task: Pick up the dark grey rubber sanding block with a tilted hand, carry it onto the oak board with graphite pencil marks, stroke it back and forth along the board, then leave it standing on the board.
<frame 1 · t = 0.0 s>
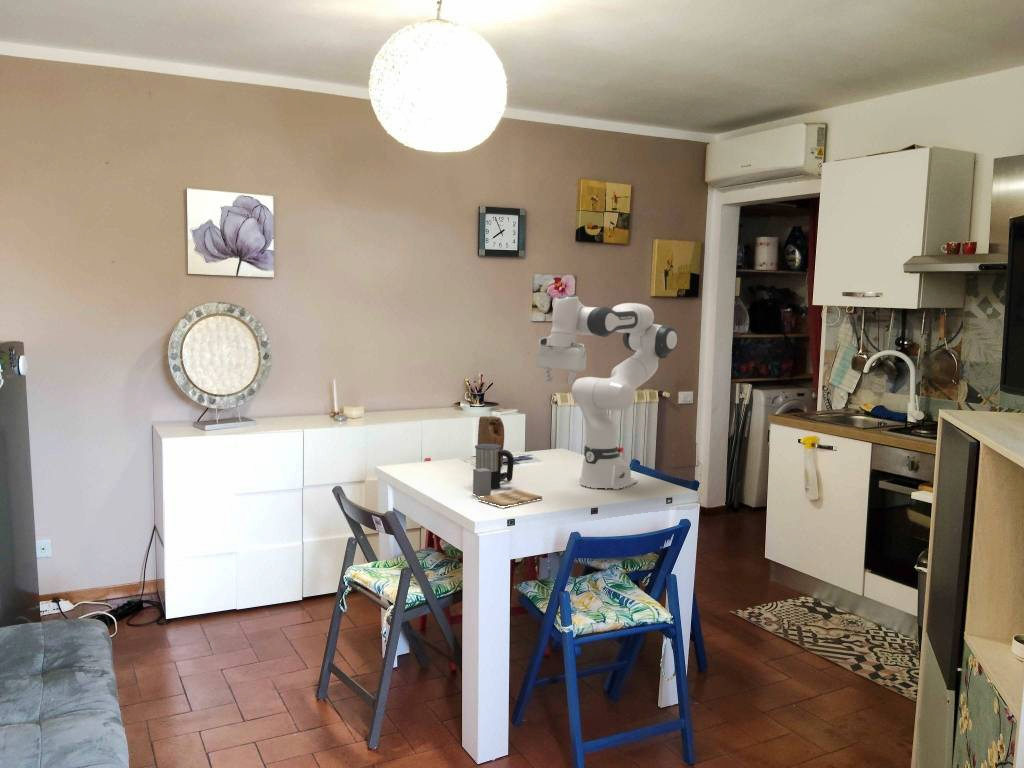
hand: (558, 382, 278), 39 cm above the table, tool pointing down, fingers open, 8 cm apart
sanding block: (481, 495, 279), on the table
board: (510, 500, 273), on the table
block: (490, 467, 326), on the table
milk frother: (492, 485, 296), on the table
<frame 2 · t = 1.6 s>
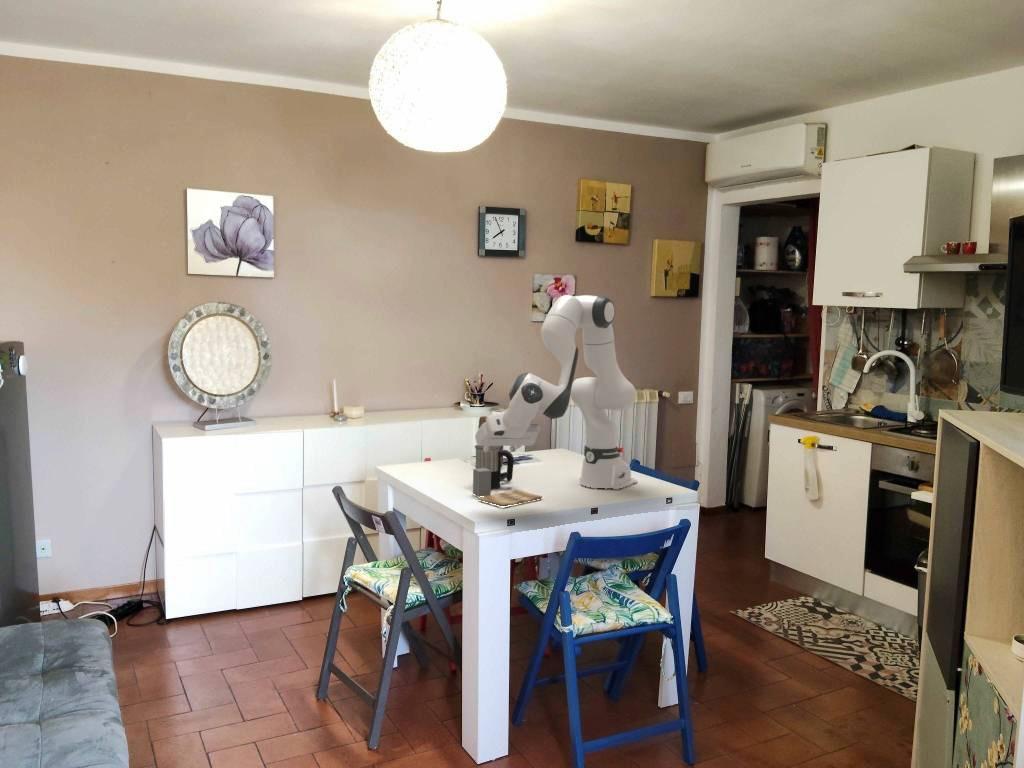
hand: (498, 450, 267), 18 cm above the table, tool tilted 45°, fingers open, 8 cm apart
nothing on the table moved.
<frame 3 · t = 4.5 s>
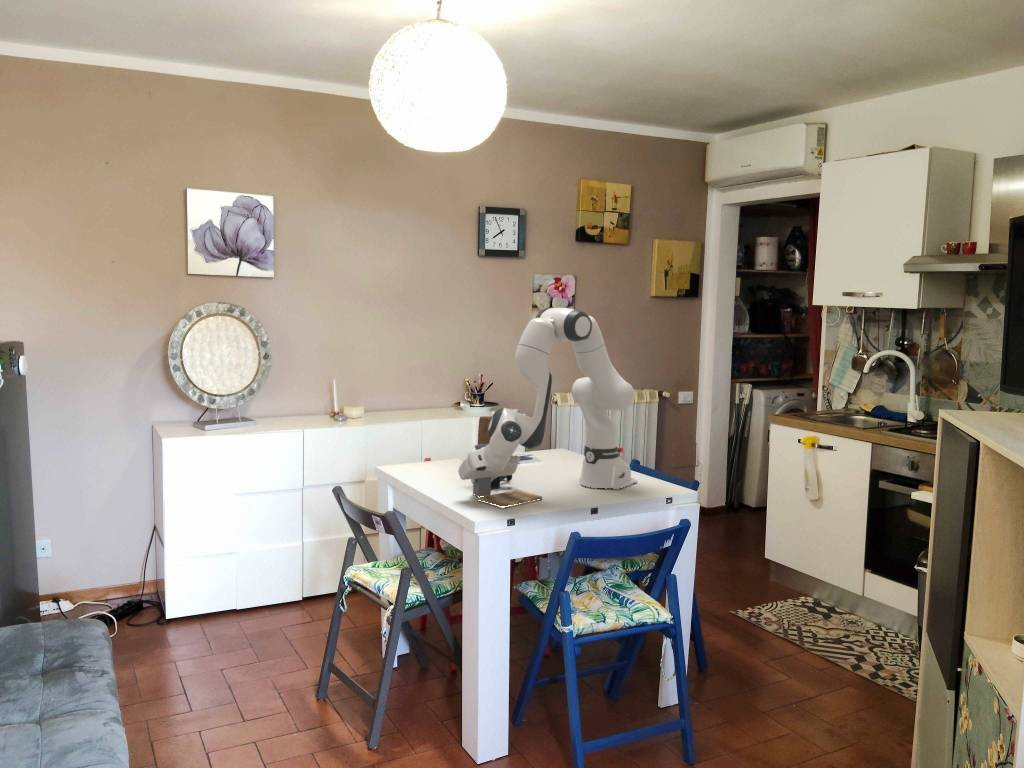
hand: (481, 481, 279), 5 cm above the table, tool tilted 45°, fingers closed on sanding block, 4 cm apart
sanding block: (481, 495, 279), on the table, touching gripper
everything else where it was.
when the fingers open (6 cm above the table, at t = 15.5 s): sanding block stays where it is, resting on board.
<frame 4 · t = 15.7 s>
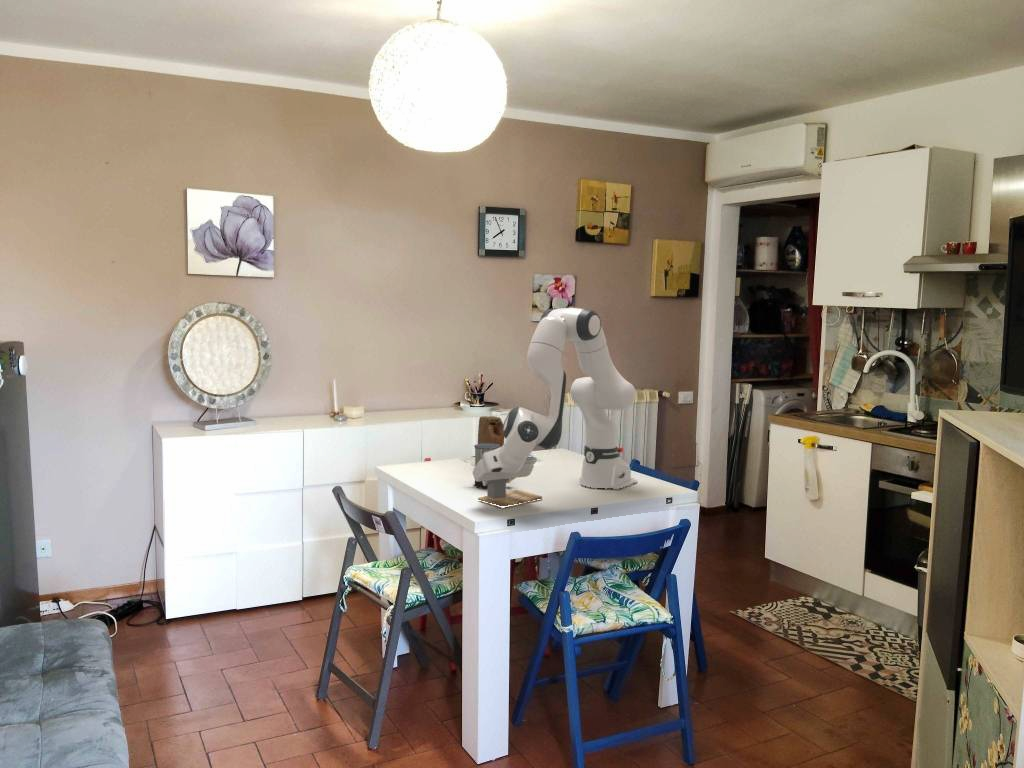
hand: (495, 482, 271), 6 cm above the table, tool tilted 45°, fingers open, 7 cm apart
sanding block: (496, 498, 271), point 1 cm above the table, touching board
everything else where it was.
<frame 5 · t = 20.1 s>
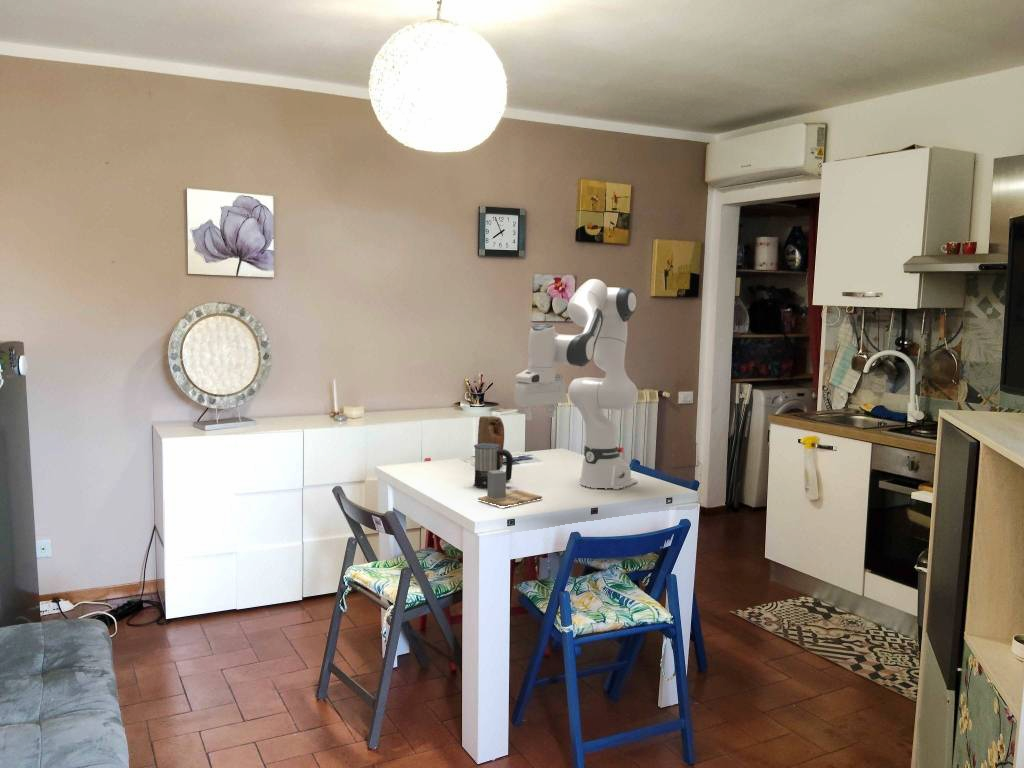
hand: (540, 418, 262), 29 cm above the table, tool pointing down, fingers open, 8 cm apart
at the end: sanding block inside the target area on the board (5.1 cm from its centre), point 1.2 cm above the board's base; sanding block tilted 0°; sanding block moved 9.8 cm from its start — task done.
